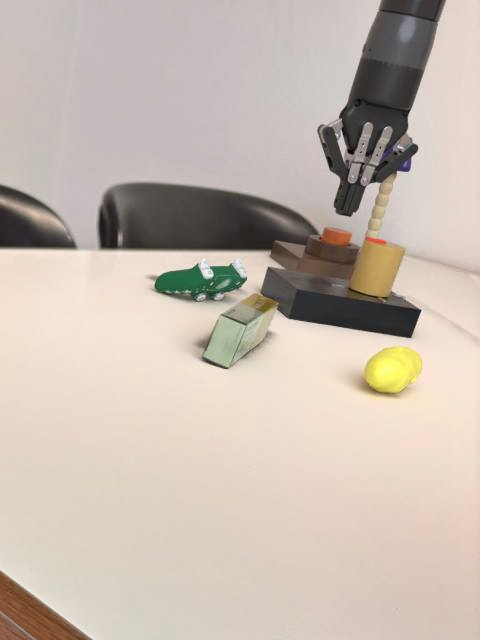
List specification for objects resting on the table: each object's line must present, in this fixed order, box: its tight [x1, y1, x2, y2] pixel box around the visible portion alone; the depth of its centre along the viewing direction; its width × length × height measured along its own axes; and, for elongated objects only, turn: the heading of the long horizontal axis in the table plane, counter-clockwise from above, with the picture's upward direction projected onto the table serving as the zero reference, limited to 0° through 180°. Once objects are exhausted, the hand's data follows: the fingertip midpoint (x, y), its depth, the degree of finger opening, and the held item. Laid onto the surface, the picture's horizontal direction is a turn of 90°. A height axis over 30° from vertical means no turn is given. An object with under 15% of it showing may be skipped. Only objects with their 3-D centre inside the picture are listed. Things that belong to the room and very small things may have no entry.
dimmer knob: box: [349, 237, 407, 297], centre depth 114 cm, size 4×4×5 cm
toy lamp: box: [358, 136, 414, 255], centre depth 144 cm, size 5×5×17 cm
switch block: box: [269, 234, 362, 280], centre depth 137 cm, size 12×10×4 cm
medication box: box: [201, 292, 279, 370], centre depth 94 cm, size 12×3×4 cm, turn 154°
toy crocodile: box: [153, 257, 248, 302], centre depth 111 cm, size 9×4×6 cm
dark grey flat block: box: [259, 266, 422, 339], centre depth 116 cm, size 14×10×3 cm
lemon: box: [363, 345, 423, 394], centre depth 92 cm, size 4×8×4 cm, turn 136°
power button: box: [321, 226, 353, 246], centre depth 136 cm, size 4×4×2 cm
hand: (343, 214), depth 134 cm, fingers closed
